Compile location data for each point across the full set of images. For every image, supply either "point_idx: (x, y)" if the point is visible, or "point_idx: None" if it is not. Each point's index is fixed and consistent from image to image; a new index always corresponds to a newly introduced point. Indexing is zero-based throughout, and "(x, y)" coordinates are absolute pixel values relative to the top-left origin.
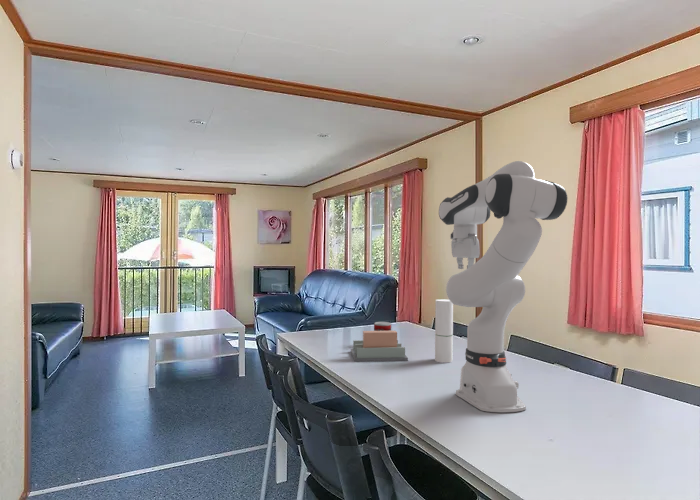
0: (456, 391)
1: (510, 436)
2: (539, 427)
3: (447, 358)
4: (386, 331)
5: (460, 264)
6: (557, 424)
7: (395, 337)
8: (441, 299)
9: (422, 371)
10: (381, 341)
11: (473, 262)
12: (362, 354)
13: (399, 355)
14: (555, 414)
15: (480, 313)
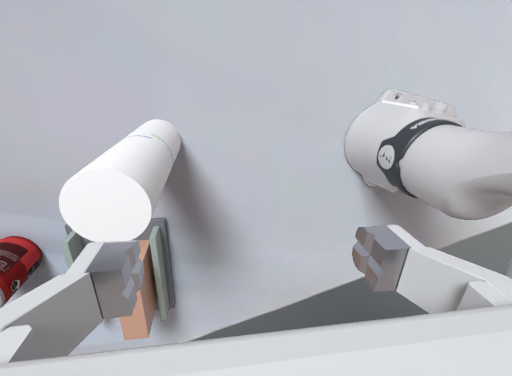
0: (372, 186)
1: None
2: (496, 120)
3: (179, 140)
4: None
5: (94, 298)
6: (502, 89)
7: None
8: (70, 213)
9: (243, 205)
10: (148, 290)
11: (476, 269)
12: (167, 302)
13: (159, 238)
14: (480, 69)
15: (484, 194)
